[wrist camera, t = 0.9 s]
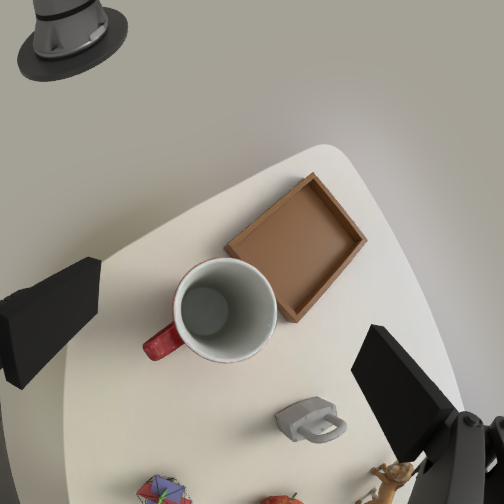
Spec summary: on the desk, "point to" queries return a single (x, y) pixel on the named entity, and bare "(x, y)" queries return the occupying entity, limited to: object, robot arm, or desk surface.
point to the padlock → (310, 421)
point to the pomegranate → (281, 500)
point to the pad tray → (300, 246)
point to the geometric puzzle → (163, 492)
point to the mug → (219, 313)
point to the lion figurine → (390, 481)
